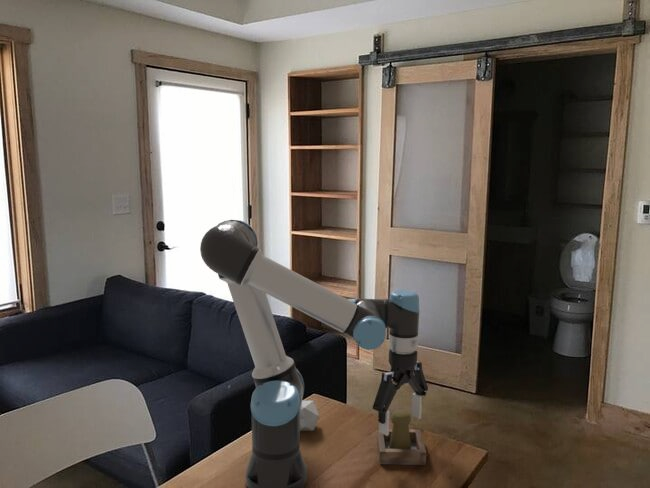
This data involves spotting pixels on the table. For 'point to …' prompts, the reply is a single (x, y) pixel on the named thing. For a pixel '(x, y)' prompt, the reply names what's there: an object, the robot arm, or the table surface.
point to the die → (308, 416)
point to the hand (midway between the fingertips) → (400, 425)
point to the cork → (400, 430)
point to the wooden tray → (402, 450)
